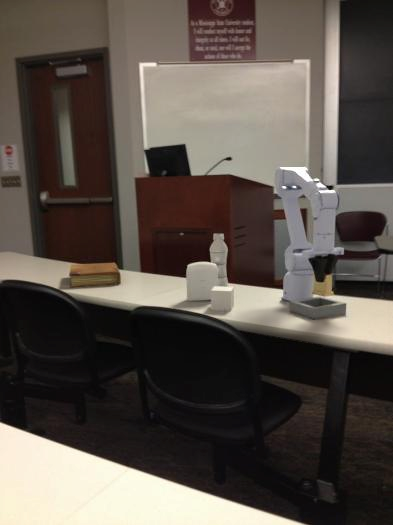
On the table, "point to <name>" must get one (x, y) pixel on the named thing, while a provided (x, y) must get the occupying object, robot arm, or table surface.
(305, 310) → the grey well
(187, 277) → the photo printer
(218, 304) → the off-white cube
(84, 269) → the diary
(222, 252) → the plastic bottle
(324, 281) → the yellow block
